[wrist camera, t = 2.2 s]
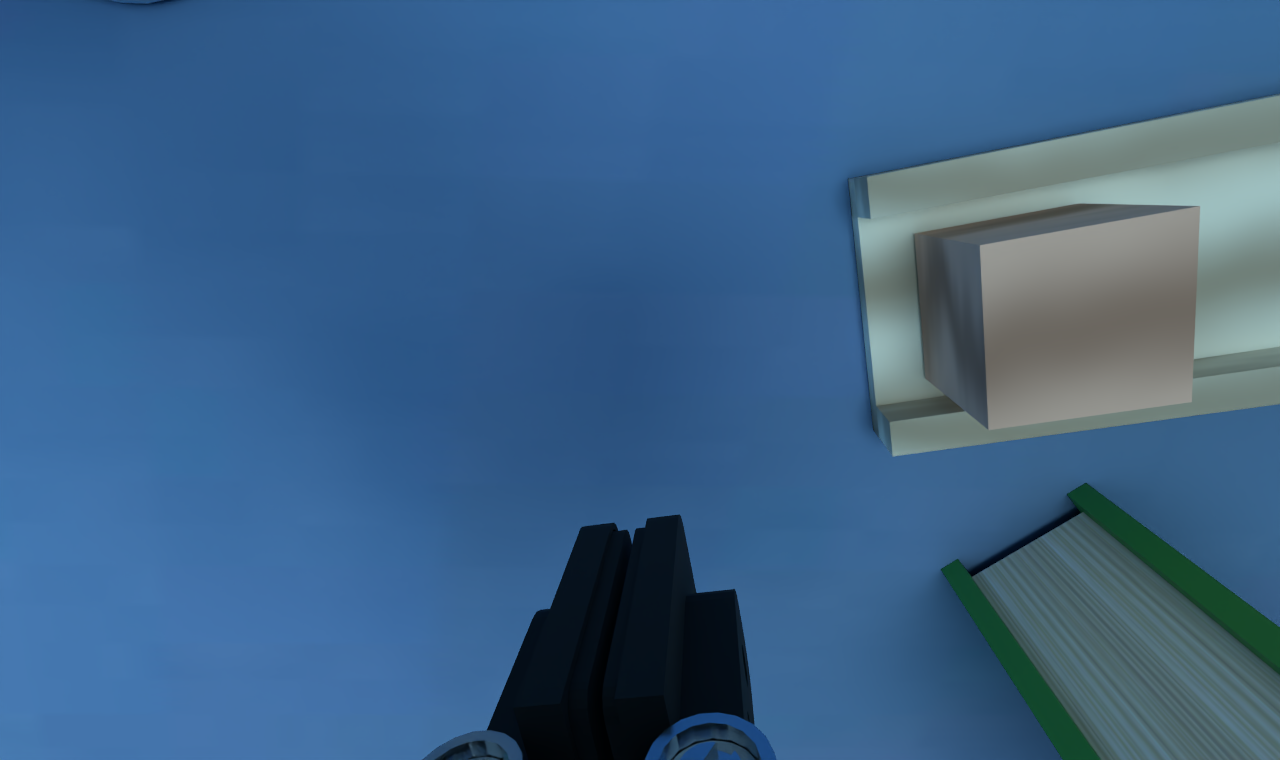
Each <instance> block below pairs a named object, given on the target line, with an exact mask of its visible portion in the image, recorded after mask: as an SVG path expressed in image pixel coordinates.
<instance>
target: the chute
mask: <svg viewBox="0 0 1280 760" xmlns="http://www.w3.org/2000/svg"><path fill="white" fill-rule="evenodd" d="M848 182H849V192H850V202H851V212H852V222H853V232H854V242H855V252H856V262H857V272H858V282H859V292H860V302H861V312H862V322H863V332H864V342H865V352H866V362H867V372H868V382H869V392H870V402H871V412H872V422H873V430H874V432H875V433H876V434H877V436H878V437H879V438H880V440H881V441H882V442H883V444H884V445H885V447H886V448H887V449H888V451H889V452H890V453H891V455H892V456H899V455H907V454H914V453H921V452H929V451H936V450H944V449H951V448H958V447H966V446H973V445H980V444H988V443H995V442H1003V441H1010V440H1017V439H1025V438H1032V437H1040V436H1047V435H1054V434H1062V433H1069V432H1076V431H1084V430H1091V429H1099V428H1106V427H1113V426H1121V425H1128V424H1135V423H1143V422H1150V421H1158V420H1165V419H1172V418H1180V417H1187V416H1194V415H1202V414H1209V413H1217V412H1224V411H1231V410H1239V409H1246V408H1254V407H1261V406H1268V405H1276V404H1280V94H1275V95H1270V96H1265V97H1260V98H1255V99H1250V100H1245V101H1240V102H1235V103H1230V104H1225V105H1220V106H1215V107H1210V108H1204V109H1199V110H1194V111H1189V112H1184V113H1179V114H1174V115H1169V116H1164V117H1159V118H1154V119H1149V120H1144V121H1139V122H1134V123H1129V124H1124V125H1119V126H1113V127H1108V128H1103V129H1098V130H1093V131H1088V132H1083V133H1078V134H1073V135H1068V136H1063V137H1058V138H1053V139H1048V140H1043V141H1038V142H1033V143H1027V144H1022V145H1017V146H1012V147H1007V148H1002V149H997V150H992V151H987V152H982V153H977V154H972V155H967V156H962V157H957V158H952V159H947V160H941V161H936V162H931V163H926V164H921V165H916V166H911V167H906V168H901V169H896V170H891V171H886V172H881V173H876V174H871V175H866V176H861V177H855V178H850V179H848ZM1079 203H1085V204H1130V205H1175V206H1200V223H1199V246H1198V270H1197V293H1196V316H1195V339H1194V362H1193V385H1192V402H1189V403H1182V404H1174V405H1167V406H1160V407H1153V408H1146V409H1138V410H1131V411H1124V412H1117V413H1109V414H1102V415H1095V416H1088V417H1080V418H1073V419H1066V420H1059V421H1052V422H1044V423H1037V424H1030V425H1023V426H1015V427H1008V428H1001V429H994V430H988V429H987V428H985V427H984V426H983V425H982V424H980V423H979V422H978V421H977V420H976V419H974V418H973V417H972V416H971V415H969V414H968V413H967V412H966V411H964V410H963V409H962V408H961V407H960V406H958V405H957V404H956V403H955V402H953V401H952V400H951V399H950V398H949V397H947V396H946V395H945V394H944V393H942V392H941V391H940V390H939V389H938V388H936V387H935V386H934V385H933V384H931V383H930V382H929V381H928V380H926V379H925V367H924V354H923V341H922V327H921V314H920V300H919V287H918V274H917V260H916V247H915V233H920V232H926V231H931V230H937V229H942V228H947V227H953V226H958V225H964V224H969V223H975V222H980V221H986V220H991V219H997V218H1002V217H1008V216H1013V215H1019V214H1024V213H1029V212H1035V211H1040V210H1046V209H1051V208H1057V207H1062V206H1068V205H1073V204H1079Z"/></svg>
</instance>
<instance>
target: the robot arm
mask: <svg viewBox="0 0 1280 760" xmlns="http://www.w3.org/2000/svg"><path fill="white" fill-rule="evenodd" d="M111 1H115V2H119V3H146V4H148V3H153V2H157V1H162V0H111ZM423 760H776V756H775V753H774V751H773V749H772V747H771V745H770V743H769V741H768V739H767V737H766V736H765V735H764V734H763V733H762V732H761V731H760V730H759V729H758V728H757V727H756V726H755V725H754V715H753V704H752V694H751V684H750V675H749V667H748V660H747V653H746V646H745V640H744V634H743V628H742V622H741V616H740V610H739V605H738V599H737V595H736V591H735V589H732V590H722V591H713V592H704V593H696V589H695V584H694V579H693V573H692V568H691V563H690V558H689V553H688V547H687V542H686V537H685V532H684V527H683V522H682V519H681V516H680V515H672V516H664V517H656V518H648V519H647V521H646V527H645V528H637V529H636V530H635V534H634V539H633V544H632V543H631V538H630V535H629V532H628V530H621V531H618V529H617V526H616V524H615V523H608V524H600V525H592V526H585V527H582V528H581V529H580V531H579V534H578V537H577V539H576V542H575V545H574V547H573V550H572V553H571V555H570V558H569V561H568V563H567V566H566V568H565V571H564V574H563V576H562V579H561V582H560V584H559V587H558V590H557V592H556V595H555V598H554V600H553V603H552V606H551V608H550V609H545V610H540V611H538V612H536V614H535V615H534V617H533V619H532V622H531V624H530V626H529V629H528V631H527V634H526V636H525V639H524V641H523V643H522V646H521V648H520V651H519V653H518V656H517V658H516V660H515V663H514V665H513V668H512V670H511V673H510V675H509V678H508V680H507V682H506V685H505V687H504V690H503V692H502V695H501V697H500V699H499V702H498V704H497V707H496V709H495V712H494V714H493V716H492V719H491V721H490V724H489V726H488V729H487V731H475V732H470V733H467V734H464V735H461V736H458V737H455V738H453V739H451V740H450V741H448V742H446V743H444V744H443V745H441V746H439V747H437V748H436V749H435V750H433V751H432V752H431V753H430V754H429V755H427V756H426V757H425V758H424V759H423Z"/></svg>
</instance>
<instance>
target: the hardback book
mask: <svg viewBox="0 0 1280 760" xmlns="http://www.w3.org/2000/svg"><path fill="white" fill-rule="evenodd" d="M1067 495H1068V497H1069V498H1070V499H1071V501H1072V502H1073V503H1074V505H1075V506H1076V507H1077V509H1078V510H1079V511H1080V513H1081V514H1079V515H1077V516H1075V517H1074V518H1072V519H1070V520H1069V521H1067V522H1065V523H1063V524H1062V525H1060V526H1058V527H1057V528H1055V529H1053V530H1051V531H1050V532H1048V533H1046V534H1045V535H1043V536H1041V537H1039V538H1038V539H1036V540H1034V541H1033V542H1031V543H1029V544H1027V545H1026V546H1024V547H1022V548H1020V549H1019V550H1017V551H1015V552H1014V553H1012V554H1010V555H1008V556H1007V557H1005V558H1003V559H1002V560H1000V561H998V562H996V563H995V564H993V565H991V566H990V567H988V568H986V569H984V570H983V571H981V572H979V573H978V574H976V575H974V576H971V575H970V574H969V572H968V571H967V570H966V569H965V567H964V566H963V565H962V564H961V562H960V561H959V560H958V559H957V560H955V561H954V562H952V563H950V564H949V565H947V566H945V567H944V568H942V569H941V570H942V572H943V574H944V575H945V577H946V578H947V580H948V581H949V583H950V585H951V586H952V588H953V589H954V591H955V592H956V594H957V595H958V597H959V599H960V600H961V602H962V603H963V605H964V606H965V608H966V609H967V611H968V613H969V614H970V616H971V617H972V619H973V620H974V622H975V623H976V625H977V627H978V628H979V630H980V631H981V633H982V634H983V636H984V637H985V639H986V641H987V642H988V644H989V645H990V647H991V648H992V650H993V652H994V653H995V655H996V656H997V658H998V659H999V661H1000V662H1001V664H1002V666H1003V667H1004V669H1005V670H1006V672H1007V673H1008V675H1009V676H1010V678H1011V680H1012V681H1013V683H1014V684H1015V686H1016V687H1017V689H1018V690H1019V692H1020V694H1021V695H1022V697H1023V698H1024V700H1025V701H1026V703H1027V704H1028V706H1029V708H1030V709H1031V711H1032V712H1033V714H1034V715H1035V717H1036V719H1037V720H1038V722H1039V723H1040V725H1041V726H1042V728H1043V729H1044V731H1045V733H1046V734H1047V736H1048V737H1049V739H1050V740H1051V742H1052V743H1053V745H1054V747H1055V748H1056V750H1057V751H1058V753H1059V754H1060V756H1061V757H1062V759H1063V760H1280V627H1278V626H1277V625H1276V624H1274V623H1273V622H1272V621H1270V620H1269V619H1268V618H1266V617H1265V616H1264V615H1262V614H1261V613H1260V612H1258V611H1257V610H1256V609H1254V608H1253V607H1252V606H1250V605H1249V604H1248V603H1246V602H1245V601H1244V600H1242V599H1241V598H1239V597H1238V596H1237V595H1235V594H1234V593H1233V592H1231V591H1230V590H1229V589H1227V588H1226V587H1225V586H1223V585H1222V584H1221V583H1219V582H1218V581H1217V580H1215V579H1214V578H1213V577H1211V576H1210V575H1209V574H1207V573H1206V572H1205V571H1203V570H1202V569H1201V568H1199V567H1198V566H1197V565H1195V564H1194V563H1193V562H1191V561H1190V560H1189V559H1187V558H1186V557H1185V556H1183V555H1182V554H1181V553H1179V552H1178V551H1177V550H1175V549H1174V548H1173V547H1171V546H1170V545H1169V544H1167V543H1166V542H1165V541H1163V540H1162V539H1160V538H1159V537H1158V536H1156V535H1155V534H1154V533H1152V532H1151V531H1150V530H1148V529H1147V528H1146V527H1144V526H1143V525H1142V524H1140V523H1139V522H1138V521H1136V520H1135V519H1134V518H1132V517H1131V516H1130V515H1128V514H1127V513H1126V512H1124V511H1123V510H1122V509H1120V508H1119V507H1118V506H1116V505H1115V504H1114V503H1112V502H1111V501H1110V500H1108V499H1107V498H1106V497H1104V496H1103V495H1102V494H1100V493H1099V492H1098V491H1096V490H1095V489H1094V488H1092V487H1091V486H1090V485H1088V484H1087V483H1085V484H1083V485H1082V486H1080V487H1078V488H1076V489H1075V490H1073V491H1071V492H1070V493H1068V494H1067Z"/></svg>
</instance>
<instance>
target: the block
mask: <svg viewBox="0 0 1280 760" xmlns="http://www.w3.org/2000/svg"><path fill="white" fill-rule="evenodd" d="M1199 223H1200V206H1175V205H1130V204H1085V203H1079V204H1073V205H1068V206H1062V207H1057V208H1051V209H1046V210H1040V211H1035V212H1029V213H1024V214H1019V215H1013V216H1008V217H1002V218H997V219H991V220H986V221H980V222H975V223H969V224H964V225H958V226H953V227H947V228H942V229H937V230H931V231H926V232H920V233H915V247H916V260H917V274H918V287H919V300H920V314H921V327H922V341H923V354H924V367H925V379H926V380H928V381H929V382H930V383H931V384H933V385H934V386H935V387H936V388H938V389H939V390H940V391H941V392H942V393H944V394H945V395H946V396H947V397H949V398H950V399H951V400H952V401H953V402H955V403H956V404H957V405H958V406H960V407H961V408H962V409H963V410H964V411H966V412H967V413H968V414H969V415H971V416H972V417H973V418H974V419H976V420H977V421H978V422H979V423H980V424H982V425H983V426H984V427H985V428H987V429H988V430H994V429H1001V428H1008V427H1015V426H1023V425H1030V424H1037V423H1044V422H1052V421H1059V420H1066V419H1073V418H1080V417H1088V416H1095V415H1102V414H1109V413H1117V412H1124V411H1131V410H1138V409H1146V408H1153V407H1160V406H1167V405H1174V404H1182V403H1189V402H1192V385H1193V362H1194V339H1195V316H1196V293H1197V270H1198V246H1199Z"/></svg>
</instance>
